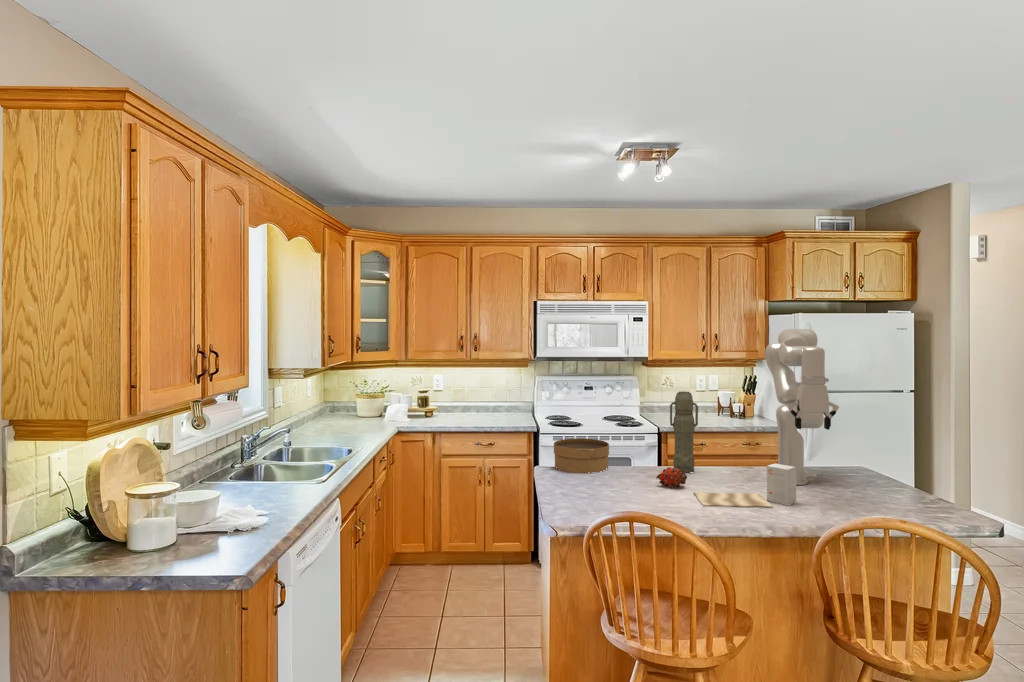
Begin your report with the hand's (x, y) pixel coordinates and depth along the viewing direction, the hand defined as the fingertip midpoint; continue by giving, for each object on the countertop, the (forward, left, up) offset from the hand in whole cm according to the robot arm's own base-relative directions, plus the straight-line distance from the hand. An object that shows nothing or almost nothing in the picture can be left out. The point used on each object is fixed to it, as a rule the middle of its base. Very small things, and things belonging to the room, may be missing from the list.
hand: (812, 428), depth 217 cm
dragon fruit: (+47, -18, -27) cm, 57 cm away
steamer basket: (+82, -49, -27) cm, 99 cm away
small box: (+11, 0, -27) cm, 29 cm away
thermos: (+37, -45, -27) cm, 64 cm away
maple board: (+28, 0, -27) cm, 39 cm away
